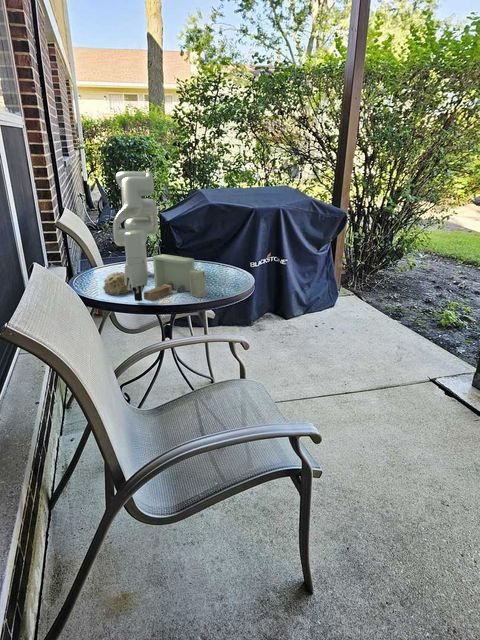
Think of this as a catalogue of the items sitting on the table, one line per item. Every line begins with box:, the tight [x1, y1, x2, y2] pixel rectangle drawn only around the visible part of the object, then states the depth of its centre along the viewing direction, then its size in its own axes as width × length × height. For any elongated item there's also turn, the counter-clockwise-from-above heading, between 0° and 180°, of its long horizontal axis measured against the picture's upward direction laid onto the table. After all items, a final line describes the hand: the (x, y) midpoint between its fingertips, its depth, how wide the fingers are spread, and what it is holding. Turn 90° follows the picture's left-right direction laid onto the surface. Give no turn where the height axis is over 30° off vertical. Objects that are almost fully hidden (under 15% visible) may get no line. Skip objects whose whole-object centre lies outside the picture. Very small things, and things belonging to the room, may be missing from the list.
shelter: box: [152, 253, 195, 294], centre depth 204 cm, size 20×7×16 cm, turn 58°
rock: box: [102, 271, 131, 296], centre depth 206 cm, size 21×14×10 cm
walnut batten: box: [143, 284, 173, 301], centre depth 197 cm, size 4×15×4 cm, turn 148°
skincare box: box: [190, 269, 207, 299], centre depth 196 cm, size 6×4×12 cm
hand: (138, 300), depth 187 cm, fingers closed
